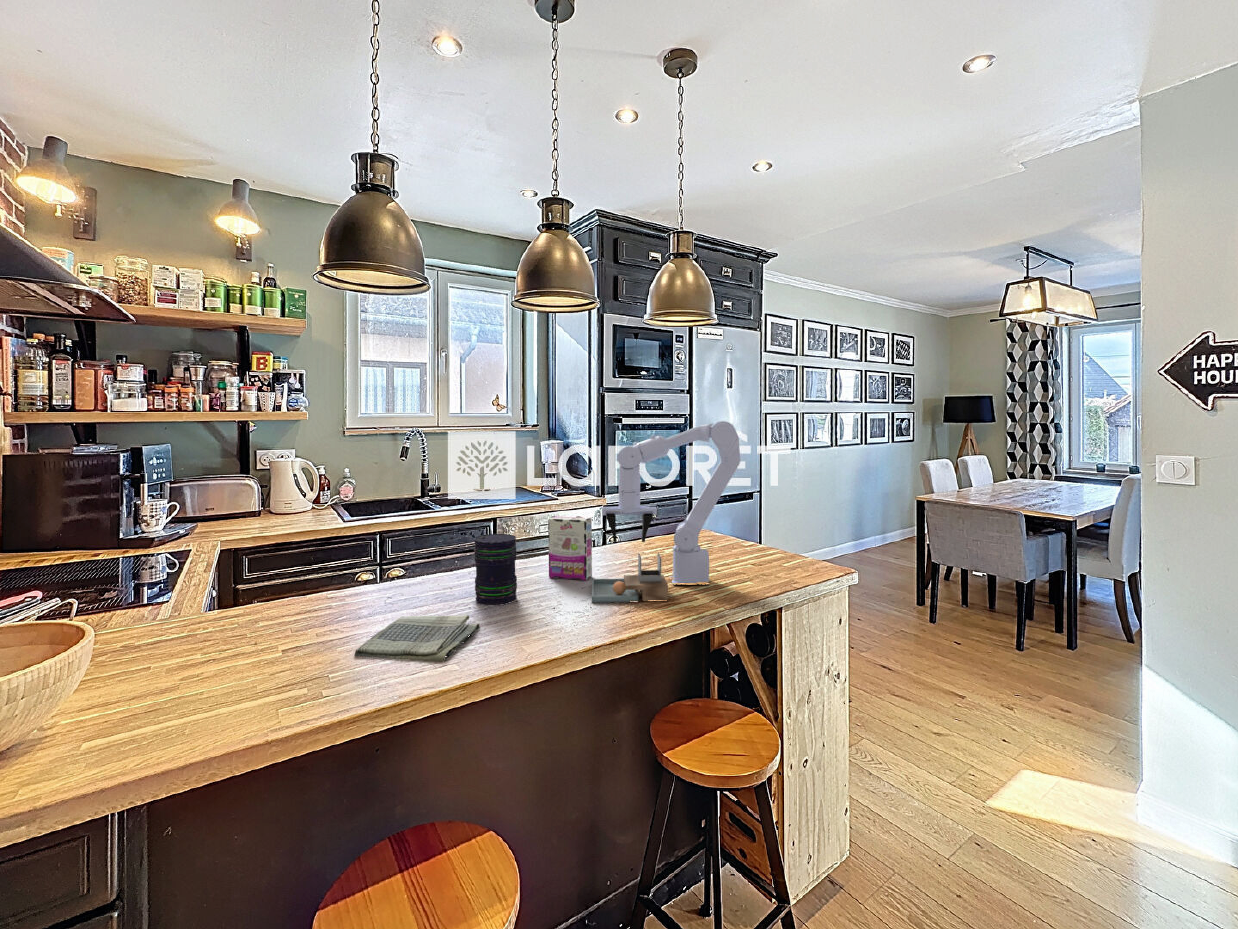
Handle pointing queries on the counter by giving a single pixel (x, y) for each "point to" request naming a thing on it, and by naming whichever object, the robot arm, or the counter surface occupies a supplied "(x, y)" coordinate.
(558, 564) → the candy bar box
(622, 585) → the ball
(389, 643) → the dish towel
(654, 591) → the stand
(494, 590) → the storage jar
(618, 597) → the tray
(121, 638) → the counter surface
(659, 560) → the sleeve
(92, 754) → the counter surface
